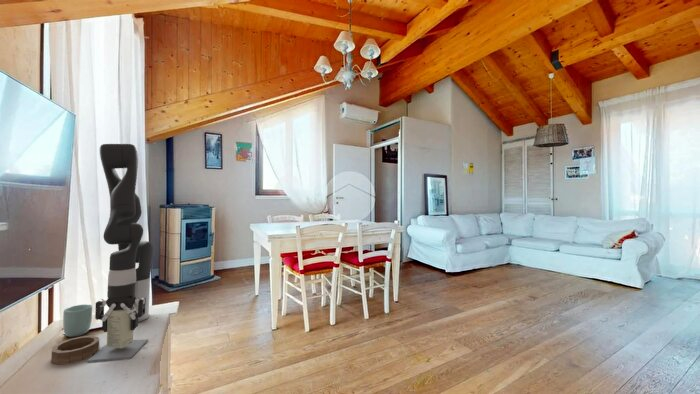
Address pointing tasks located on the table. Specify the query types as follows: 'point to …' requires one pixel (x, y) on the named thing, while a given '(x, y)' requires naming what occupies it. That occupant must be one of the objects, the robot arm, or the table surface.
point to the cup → (77, 320)
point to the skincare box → (119, 329)
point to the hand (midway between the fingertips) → (120, 330)
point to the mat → (118, 352)
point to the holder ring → (75, 349)
